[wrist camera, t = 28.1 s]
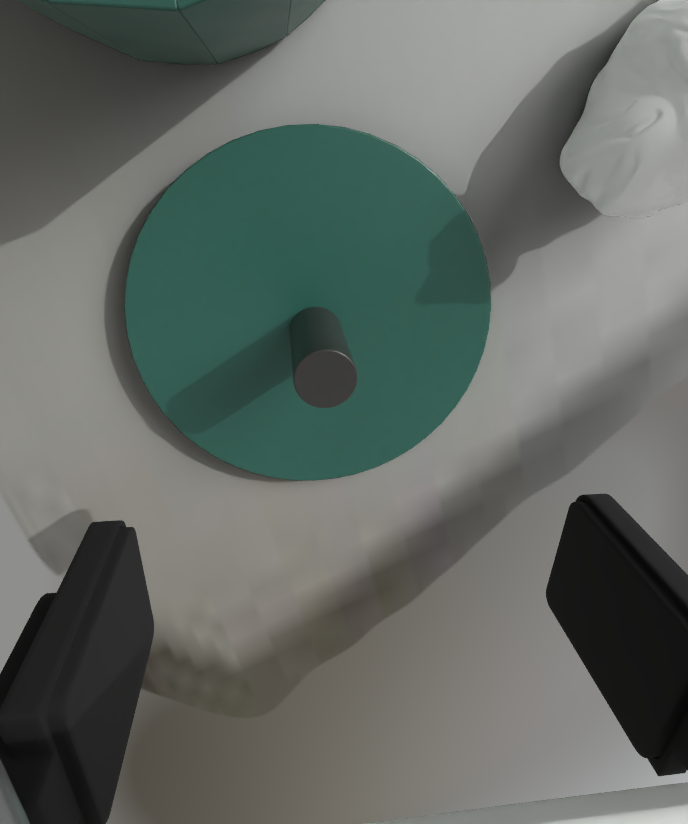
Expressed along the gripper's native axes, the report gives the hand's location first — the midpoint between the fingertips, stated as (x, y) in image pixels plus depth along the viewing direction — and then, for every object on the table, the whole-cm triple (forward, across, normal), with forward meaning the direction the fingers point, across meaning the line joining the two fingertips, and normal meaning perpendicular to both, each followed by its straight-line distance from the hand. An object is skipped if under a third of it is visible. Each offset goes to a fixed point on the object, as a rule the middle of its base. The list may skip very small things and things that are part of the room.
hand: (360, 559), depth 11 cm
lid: (+15, 0, 0) cm, 15 cm away
